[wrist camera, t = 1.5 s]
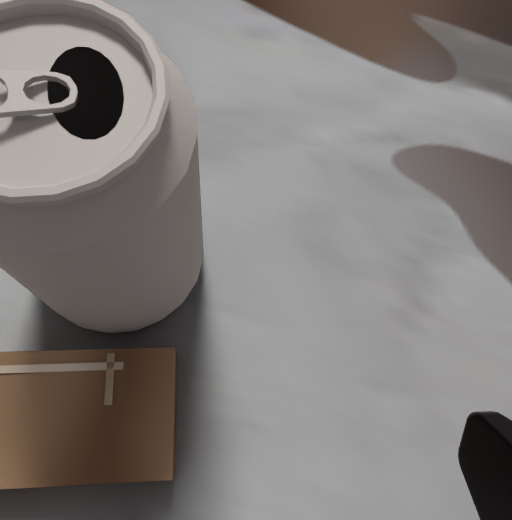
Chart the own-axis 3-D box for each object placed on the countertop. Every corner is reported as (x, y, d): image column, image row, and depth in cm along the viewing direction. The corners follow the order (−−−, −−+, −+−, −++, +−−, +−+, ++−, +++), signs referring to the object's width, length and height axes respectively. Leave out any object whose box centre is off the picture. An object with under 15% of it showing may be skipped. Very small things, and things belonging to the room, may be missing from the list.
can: (221, 314, 22) (229, 184, 11) (52, 356, 21) (-138, 260, 10) (184, 174, 24) (160, -52, 13) (30, 204, 23) (-141, -17, 12)
